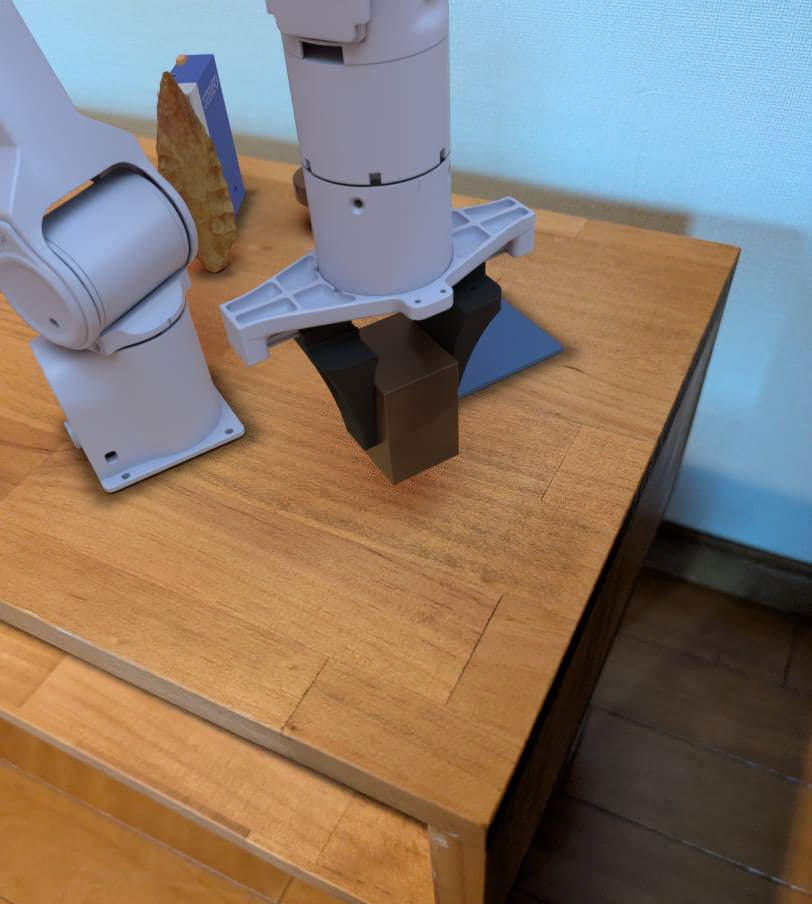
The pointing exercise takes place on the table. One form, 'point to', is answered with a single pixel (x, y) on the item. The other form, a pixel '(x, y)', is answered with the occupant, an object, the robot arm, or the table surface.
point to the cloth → (506, 350)
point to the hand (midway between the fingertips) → (399, 419)
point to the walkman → (211, 115)
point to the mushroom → (300, 187)
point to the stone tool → (194, 173)
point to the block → (411, 399)
